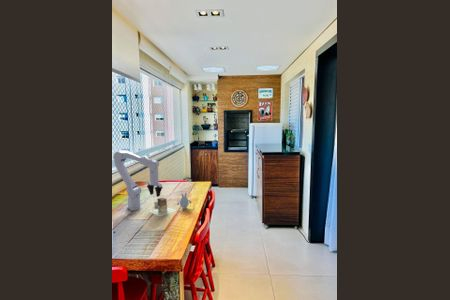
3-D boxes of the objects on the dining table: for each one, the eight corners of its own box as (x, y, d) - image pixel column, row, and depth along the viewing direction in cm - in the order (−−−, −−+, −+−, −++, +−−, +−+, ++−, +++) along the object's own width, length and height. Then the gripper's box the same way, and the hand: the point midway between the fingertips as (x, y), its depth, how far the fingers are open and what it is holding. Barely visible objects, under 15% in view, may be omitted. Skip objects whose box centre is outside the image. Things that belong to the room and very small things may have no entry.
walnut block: (157, 205, 167) (157, 199, 166) (163, 203, 170) (162, 197, 170) (161, 206, 164) (160, 200, 163) (166, 204, 167) (166, 198, 167)
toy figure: (190, 206, 177) (190, 191, 175) (192, 209, 171) (192, 193, 170) (176, 209, 173) (175, 193, 171) (178, 212, 167) (177, 195, 166)
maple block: (158, 211, 167) (158, 205, 167) (163, 209, 171) (163, 203, 170) (161, 212, 164) (161, 206, 164) (167, 210, 168) (167, 204, 167)
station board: (148, 212, 167) (148, 211, 167) (165, 206, 178) (165, 206, 177) (159, 217, 158) (159, 216, 158) (177, 211, 168) (176, 210, 168)
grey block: (154, 207, 177) (154, 201, 176) (158, 205, 181) (158, 199, 180) (159, 208, 175) (159, 202, 174) (163, 206, 179) (163, 200, 178)
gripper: (143, 176, 172) (144, 194, 174) (155, 179, 163) (156, 198, 165) (151, 174, 177) (152, 192, 179) (164, 177, 169) (164, 196, 170)
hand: (155, 195), depth 172 cm, fingers open, 7 cm apart
